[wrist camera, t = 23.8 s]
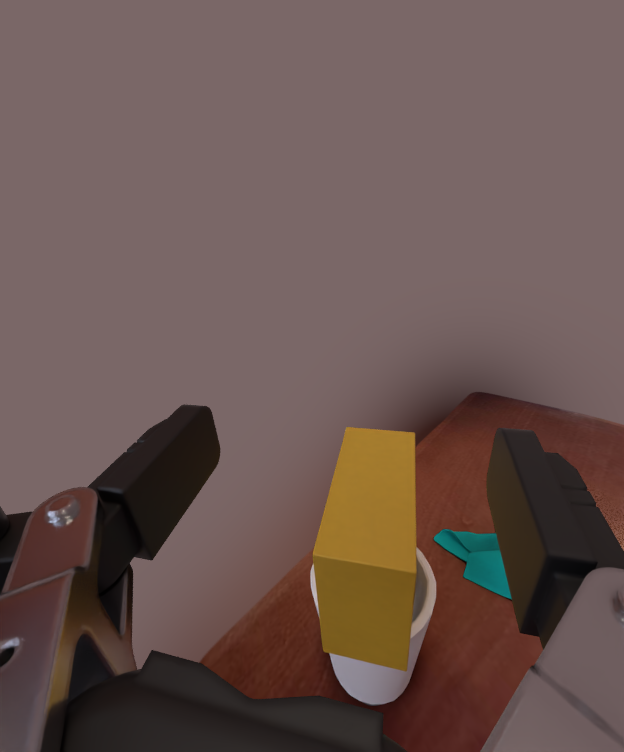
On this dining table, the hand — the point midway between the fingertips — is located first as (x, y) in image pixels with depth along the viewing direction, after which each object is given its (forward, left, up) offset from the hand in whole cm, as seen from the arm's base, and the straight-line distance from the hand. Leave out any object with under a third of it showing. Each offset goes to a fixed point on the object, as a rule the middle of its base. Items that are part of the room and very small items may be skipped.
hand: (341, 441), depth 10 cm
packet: (+3, +10, -21) cm, 23 cm away
